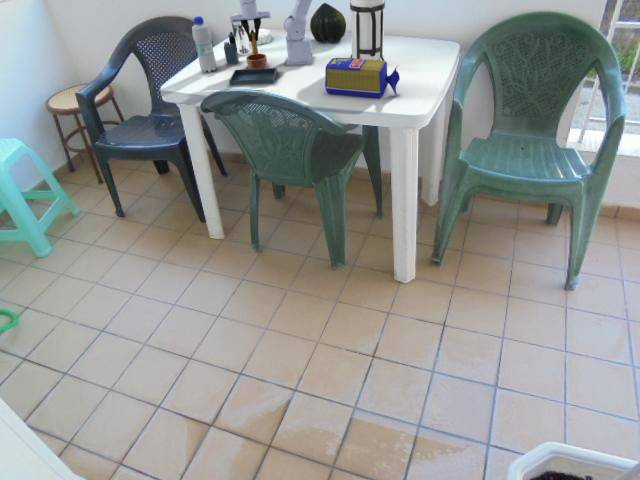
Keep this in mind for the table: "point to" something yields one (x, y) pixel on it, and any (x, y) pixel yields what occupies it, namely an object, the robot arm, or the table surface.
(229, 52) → the vaping device
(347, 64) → the bread
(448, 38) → the table surface
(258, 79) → the tray
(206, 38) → the bottle
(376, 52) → the coffee press
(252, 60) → the pen cup
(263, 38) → the mooncake
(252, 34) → the marker
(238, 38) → the beer glass
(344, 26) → the squash
